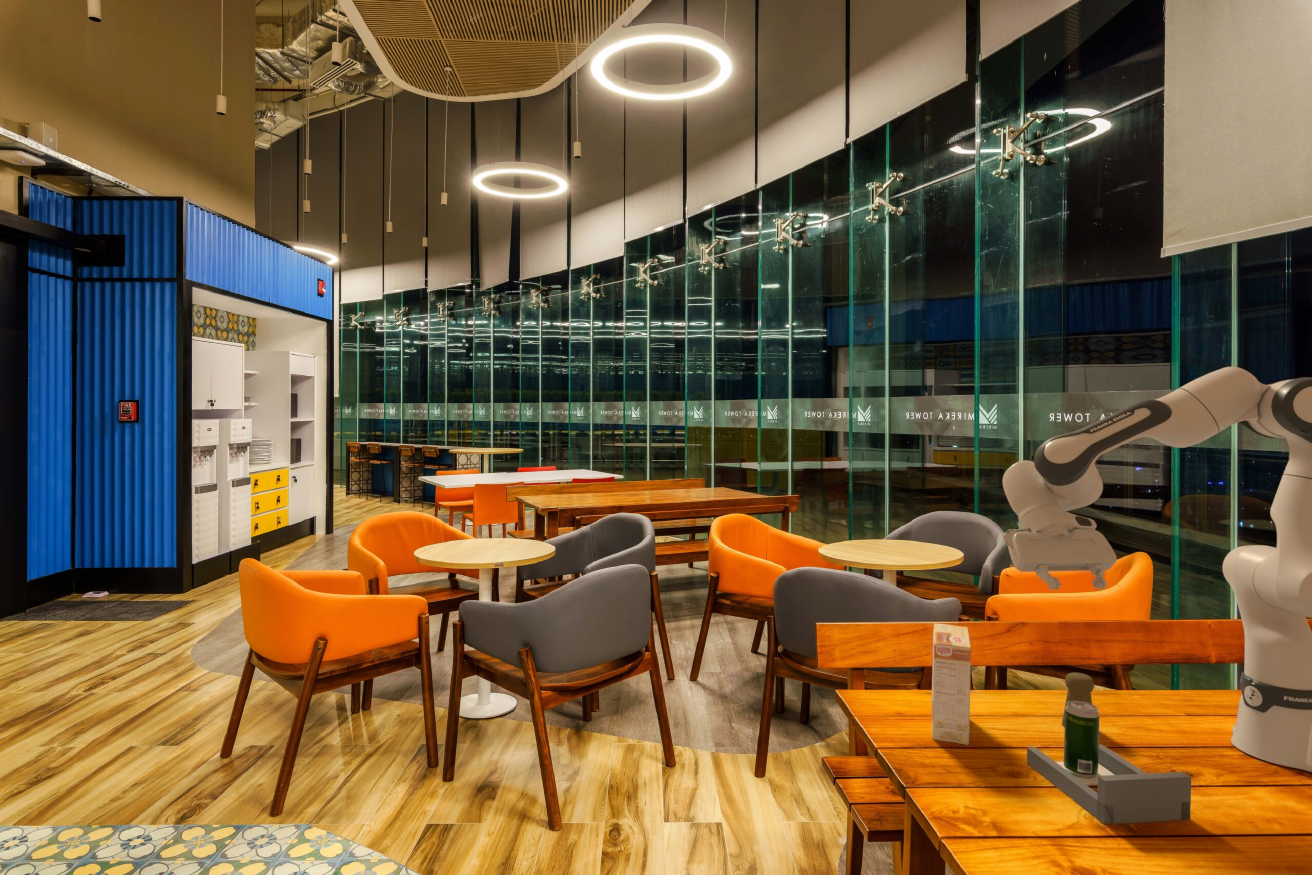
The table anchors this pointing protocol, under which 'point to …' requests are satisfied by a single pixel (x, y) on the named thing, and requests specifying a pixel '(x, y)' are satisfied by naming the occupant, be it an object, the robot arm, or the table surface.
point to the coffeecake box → (951, 684)
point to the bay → (1120, 789)
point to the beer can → (1081, 739)
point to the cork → (1078, 689)
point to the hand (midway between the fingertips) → (1078, 587)
